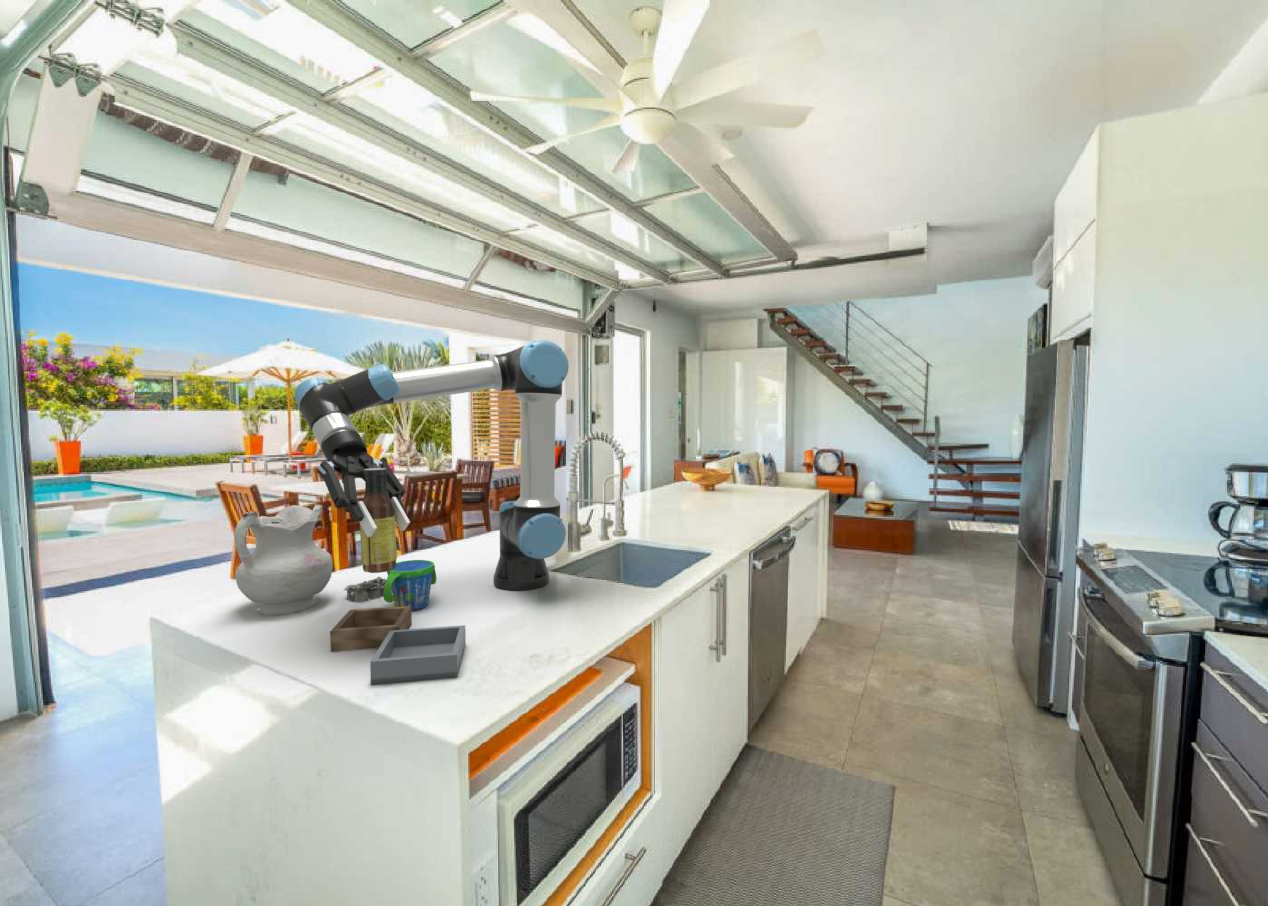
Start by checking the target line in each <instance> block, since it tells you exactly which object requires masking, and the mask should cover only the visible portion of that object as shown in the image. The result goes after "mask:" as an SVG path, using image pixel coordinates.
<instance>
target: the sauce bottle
mask: <svg viewBox="0 0 1268 906" xmlns="http://www.w3.org/2000/svg"><path fill="white" fill-rule="evenodd" d="M386 476H387V469H386V468H369V469H364V477H365V481H364V483H365V488H364V491H365V492H364V496H363V498H362V500H361V501H363V503H364V505H365V506H366V508H367V510H368V512H369V514H370V516H371V517H372V519H373V521H374V523H375V525H376V527H377V529H376V531H375V532H374V534H373V535H372V537H367V535H366V534H365V532H364V530H363V528H362V526H361V524H360V523H359V532H360V533H359V535H360V551H361V552H360V554H361V564H362V570H363V572H365V573H370V574H377V573H378V574H379V573H387V571H390V570H392V569H394V568H396V563H397V559H398V551H397V550H398V549H397V533H396V529H397V527H396V521H395V510H394V508H393V505H392V502H391V500H390V497H389V494H388V491H387V487H386Z"/></svg>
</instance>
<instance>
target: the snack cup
mask: <svg viewBox="0 0 1268 906" xmlns="http://www.w3.org/2000/svg"><path fill="white" fill-rule="evenodd" d="M386 573H387V577H386V583H385V588H384V595H382V596H383V600H384V601H385V602H386V603H388V604H389V603H393V604H394V607H401V606H411V612H412V611H413V612H414V611H416V610H421V609H423V608H424V607H426V606H428V604H429V601H430V595H431V590H432V588H431V586H432V585H435V584H436V582H437V579H438V578H437V572H436V565H435V563H434V562H433V561H431V560H427V559H410V560H403V561H398V562H396V568H394V569H392V570H390V571H386Z"/></svg>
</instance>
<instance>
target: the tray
mask: <svg viewBox="0 0 1268 906" xmlns="http://www.w3.org/2000/svg"><path fill="white" fill-rule="evenodd" d="M466 638H467V637H466V624H464V625H463V624H462V625H454V626H453V625H450V626H449V625H448V626H437V627H435V626H433V627H421V628H409V629H405V630H391V631H390V632H389V633H388V635H387V636H386V638H385V639H384V641H383V643H382V644H381V646H380V647H379V648H377V650H376V652H375V654H374V655H373V656H372V658H371V660H370V664H369V665H370V685H371V686H372V685H374V686H375V685H383V684H384V685H386V684H397V683H406V682H418V681H428V680H429V681H431V680H440V679H441V680H443V679H452V678H453V679H455V678H459V677H458V676H459V672H460V669H461V665H462V661H463V657H464V653H465V648H466V644H467V642H466V640H467V639H466Z"/></svg>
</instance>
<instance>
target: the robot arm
mask: <svg viewBox="0 0 1268 906" xmlns="http://www.w3.org/2000/svg"><path fill="white" fill-rule="evenodd" d="M569 368H570V367H569V360H568V357H567V354H566V353H565V351H564V350H563V348H561V347H560V346H559V345H558V344H557V343H555V342H553V341H550V340H545V339H544V340H543V339H541V340H533V341H530V342H528V343H526V344H525V345H523V346H520V347H518V348H516V349H514V350H511V351H508V352H505V353H501V354H494V355H491V356H490V357H489V358H488V359H485V360H484V359H483V360H475V361H470V362H469V361H468V362H461V363H453V364H446V365H438V366H431V367H421V368H413V369H407V370H398V371H391V369H390V368H389V366H387V365H386V364H385V363H384V364H382V363H381V364H379V365H376V366H372V367H368V368H367V369H364V370H363V371H360V372H357V373H355V374H352V375H350V376H348V377H345V378H343V379H340V380H337V381H333V382H331V383H330V382H329V381H328V380H327V379H325V378H322V377H321V378H320V377H317V378H312V377H311V378H307V379H305V380H304V381H302V382H300V383H299V384H298V385H297V386H296V387H295V389H294V393H293V394H294V398H295V401H296V404H297V406H298V410H299V411H300V413H301V414H302V416H303V418H304V420H305V421H306V423H307V425H308V427H309V429H310V430H311V432H312V434H313V436H314V438H315V440H316V442H317V443H318V445H319V447H320V448H321V451H322V453H323V455H324V457H325V458H326V460H322V461H321V462H320V464H319V466H318V467H317V470H316V472H317V473H318V474H319V475H320V477H321V478H322V479H323V481H324V483H325V486H326V487H327V491H328V493H329V495H330V498H331V500H332V502H333V505H334V507H335V508H336V509H342V508H344V509H343V510H344V512H346V513H350V515H351V516H352V518H353V520H354V521H355V522H357V523H359V525H360V524H361V526H362V528H363V530H364V532H365V534H366V535H367V537H372V535H373V534H374V532H375V531H376V529H377V527H376V525H375V523H374V521H373V519H372V517H371V516H370V514H369V512H368V510H367V508H366V506H365V505H364V503H363V501H362V500H360V501H358V495H357V494H358V493H357V487H356V486H357V485H356V478H358V479H362V480H363V481H364V482H365V477H364V469H369V468H386V469H387V476H386V487H387V491H388V494H389V497H390V500H391V502H392V505H393V508H394V510H395V524H396V526H397V527H398V529H399V530H400V531H401V532H403V531H405V530H406V529H407V528H408V526H409V525H410V524H411V521H410V519H409V518H408V516H407V514H406V507H405V506H404V503H403V501H402V499H403V497H404V495H405V494H406V493H407V490H406V489H405V487H404V486H403V485H402V484H401V481H400V480H399V479H398V478H397V476H396V475H395V473H394V471H393V470H392V469H391V468H390V466H389V462H388V459H387V458H386V457H381V458H380V459H375V458H373V457H372V455H371V454H369V453H368V449H367V446H366V445H367V444H366V443H365V442H364V440H363V439H362V437H361V434H359V431H358V429H357V428H356V426H355V424H354V423H353V421H352V419H351V417H350V416H351V415H354V414H356V413H358V412H361V411H363V410H366V409H368V408H369V409H370V408H374V407H379V406H385V405H386V406H387V405H391V404H396V403H402V402H403V403H404V402H405V403H406V402H411V401H418V400H423V399H430V398H437V397H443V396H450V395H459V394H466V393H471V392H472V393H473V392H477V391H478V392H479V391H485V390H491V389H493V390H495V391H497V392H503V391H514V393H515V396H516V397H517V399H518V400H520V404H521V405H520V406H521V407H520V470H519V471H520V472H519V473H520V477H519V479H520V483H519V488H520V489H519V497H518V498H517V500H512V501H511V500H510V501H503V502H501V503H500V505H499V512H498V516H499V559H498V560H497V561H498V562H497V564H496V567H495V571H494V575H493V585H494V587H496V588H498V589H500V590H508V591H526V590H533V589H537V588H541V587H544V586H546V585H548V584H549V583H550V573H549V569H548V566H547V563H546V560H545V559H548V558H550V557H552V556H554V555H555V554H558V552H559V551H560V550H561V549H562V547H563V545H564V544H565V541H566V538H567V537H566V535H567V531H566V527H565V524H564V521H563V520H562V519H561V502H560V501H559V500H558V499H557V498H556V497H555V485H556V484H555V481H556V480H555V479H556V478H555V477H556V476H555V475H556V474H555V473H556V465H555V464H556V414H557V412H556V410H557V407H556V406H557V405H556V404H557V402H558V401H559V400H560V399H561V398H562V397H563V382H564V380H565V379H566V378H567V375H568V373H569ZM336 472H337V473H338V474H340V477H341V478H340V479H341V482H340V480H339V478H338V475H337V473H336ZM341 483H342V484H343V486H342V484H341Z"/></svg>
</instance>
